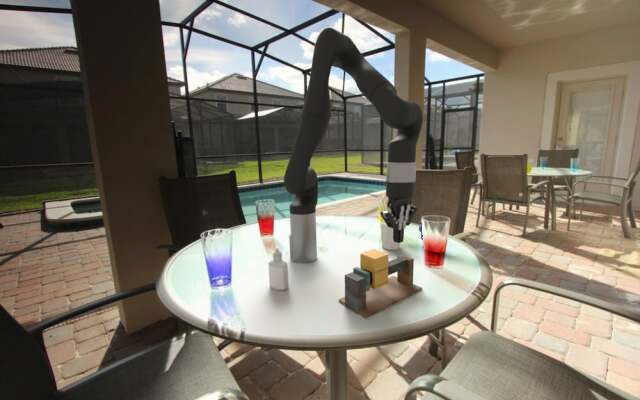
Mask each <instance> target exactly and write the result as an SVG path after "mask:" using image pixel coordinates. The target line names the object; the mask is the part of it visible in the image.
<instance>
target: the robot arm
mask: <svg viewBox="0 0 640 400" xmlns="http://www.w3.org/2000/svg"><path fill="white" fill-rule="evenodd" d="M314 43H315V44H314V50H313V54H312V55H313V56H312V62H311V67H310V74H309V80H308V85H307V91H306V93H305V94H306V95H305V98H304V103H303V105H302V106H303V107H302V111H301V114H300V118H299V123H298V129H297V133H296V136H295V140H294V145H293V149H292V152H291V156H290V158H289V161H288V163H287V166H286V168H285V172H284V175H283V176H284V177H283V185H284V188H285V190H286V191H287V193H289V194H291V195H295V197H294V199H293V201H292V202H291V203H290V205H289V224H290V225H289V227H290V233H289V234H288V236H289V237H288V238H289V239H288V242H289V260H290V261H293V262H296V263H310V262H313V261H315V260H317V259H318V246H317V239H318V238H317V214H316V213H317V211H316V209H317V205H318V201H319V200H318V199H319V182H318V181H319V180H318V175H317V172H316V171H315V169H314V168H313V167H311V166H310V164H311V160H312V158H313V155H314V153H315V152H316V150H317V149H318V148H319V146H320V144H321V143H322V142H323V139H324V138H325V136H326V134H327V132H328V128H329V124H330V121H331V118H332V111H333V110H332V102H331V95H330V89H329V86H330V85H329V83H330V82H329V81H330V74H331V72H332V71H331V70H332V68H333V67H334V68H338V69H340V70H342V71H344V72H345V73H346V74H348V75H349V76H350V77H351V78H352V79H353V80H354V82H355V84H356V86H357V89H358V90H359V92H360V93H361V94H362V95H363V97H364V98H366V99H367V101H368V102H369V103H370V104H371V105H372V106H374V108H375V111H376V112H377V114H378V115H379V117H380V118H381V120H382V121H383V122H384V124H386V125H387V126H388V127H389V128H391V129H395V130H397V131H396V136H395V138H394V139H392V140H391V141H389V143H388V148H387V166H386V173H385V174H386V175H385V196H386V197H387V199H388V201H387V204H386V208H385V210H381V211H380V216H381V217H382V219H383V221H385V223H386V224H387V226H388V227H390V228H393V240H394V242H397V243H400V244H401V243H403V242H404V238H405V229H406V227H407V226H408V227H409V226H410V224H411V222H412V221H413V219H414V217H415V215H416V213H417V211H418V207H417V206H414V205H413V201H412V199H413V198H415V196H416V178H417V177H416V175H417V167H416V161H417V160H416V159H417V158H416V157H417V143H418V141H419V138H420V133H421V130H422V126H423V122H424V121H423V120H424V115H423V110H422V107H421V106H420V104H419V103H417V102H415V101H412V100H406V99H405V100H404V99H403V98H401V97H400V96H399V95H398V92H397V89H396V86H395V85H394V84H393V83H392V82H391V81H389V80H388V78H386V77H385V76H384V75H383V74H382V73H381V72H380V71H379V70H377V69H376V68H375V67H374V65H372V64H370V62H369V61H368V60H367V59H366V58H365V57H364V55H363V54H362V52H361V51H360V50H359V48H358V47H357V45H356V44H355V43H354V42H353V40H352V39H351V38H350V37H349V35H346V34H345V33H343V32H341V31H339V30H337V29H336V28H334V27H329V26H327V27H325V28H323V29H322V30H321V31H320V32H319V34H318V36H317V37H316V41H315V42H314Z"/></svg>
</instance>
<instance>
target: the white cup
mask: <svg viewBox="0 0 640 400" xmlns="http://www.w3.org/2000/svg"><path fill="white" fill-rule="evenodd" d="M380 237H381V248H383V249H384V250H390V251H395V250H396V251H397V250H398V249H400V244H401V243H397V242H394V240H393V228H390V227H388V226H387V224H386V223H385V221H384V220H383V221H380Z"/></svg>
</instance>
